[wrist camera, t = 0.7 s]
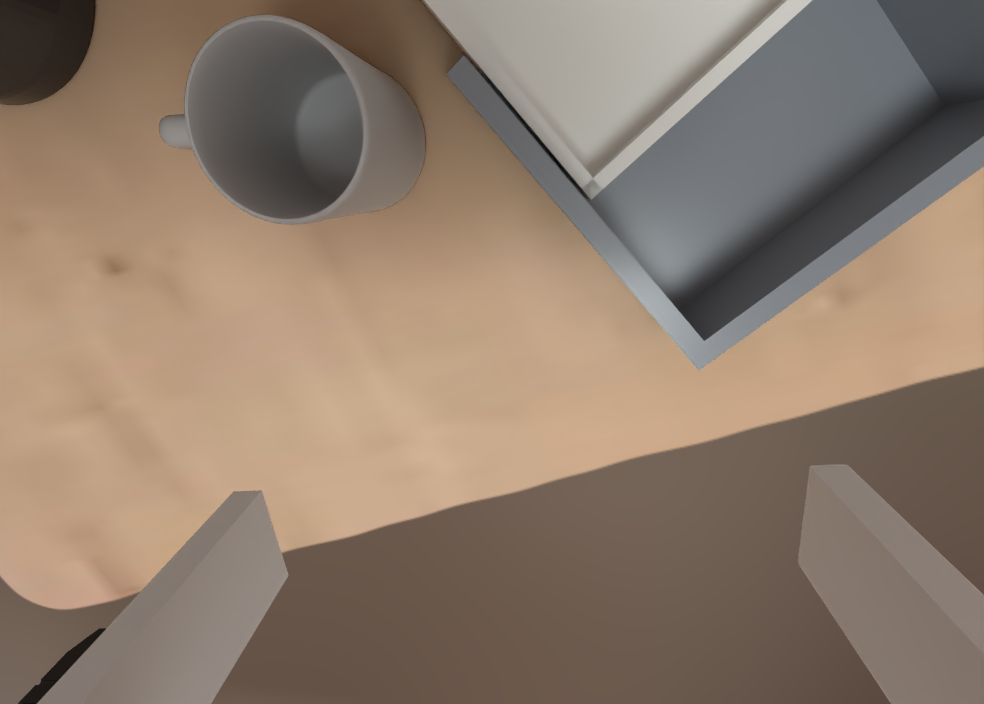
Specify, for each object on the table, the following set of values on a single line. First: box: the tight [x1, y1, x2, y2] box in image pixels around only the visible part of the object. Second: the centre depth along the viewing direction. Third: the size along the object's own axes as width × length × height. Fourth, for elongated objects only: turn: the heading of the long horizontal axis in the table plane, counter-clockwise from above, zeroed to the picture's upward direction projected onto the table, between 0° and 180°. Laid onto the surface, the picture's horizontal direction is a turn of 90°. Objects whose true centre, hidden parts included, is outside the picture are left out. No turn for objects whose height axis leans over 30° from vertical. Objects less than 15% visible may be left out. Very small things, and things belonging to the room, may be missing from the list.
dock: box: [446, 0, 984, 370], centre depth 26 cm, size 20×20×7 cm
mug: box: [159, 15, 426, 225], centre depth 27 cm, size 12×8×11 cm
